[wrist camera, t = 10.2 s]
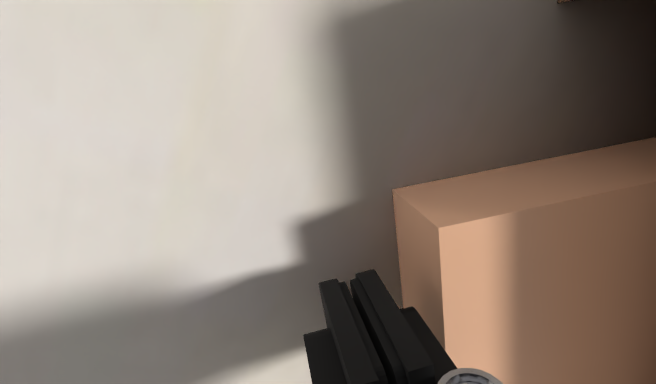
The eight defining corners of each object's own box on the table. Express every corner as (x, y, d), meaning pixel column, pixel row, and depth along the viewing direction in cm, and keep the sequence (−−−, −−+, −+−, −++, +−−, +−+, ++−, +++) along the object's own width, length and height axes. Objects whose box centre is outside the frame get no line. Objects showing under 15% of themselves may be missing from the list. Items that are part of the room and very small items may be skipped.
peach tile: (389, 186, 12) (438, 227, 9) (756, 114, 14) (912, 126, 10) (412, 421, 15) (454, 517, 12) (709, 339, 17) (818, 402, 14)
